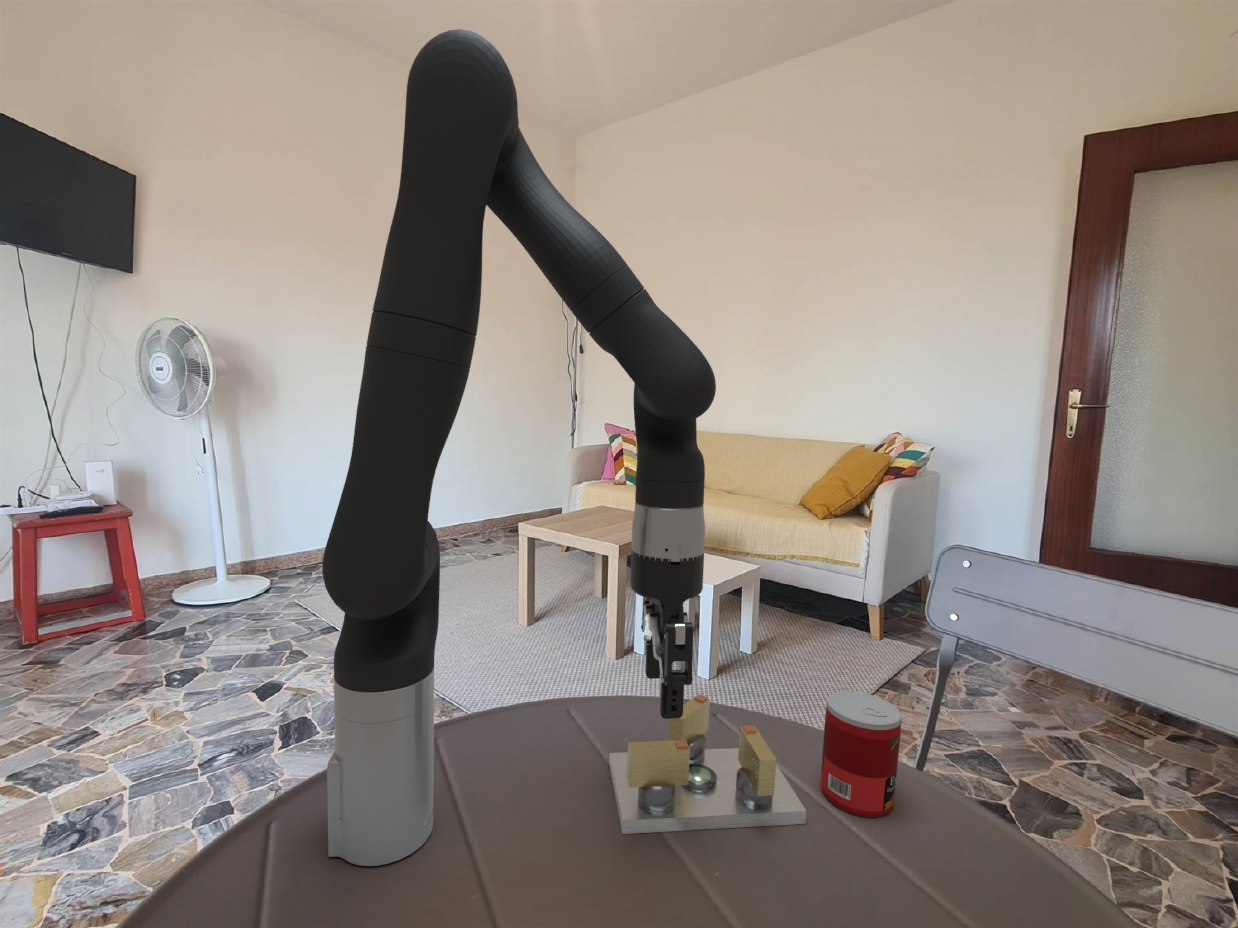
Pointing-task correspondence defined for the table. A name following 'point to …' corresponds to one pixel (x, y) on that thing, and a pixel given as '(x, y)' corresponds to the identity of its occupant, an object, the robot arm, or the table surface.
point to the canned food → (860, 753)
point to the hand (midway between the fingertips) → (662, 695)
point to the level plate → (704, 799)
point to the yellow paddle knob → (692, 727)
